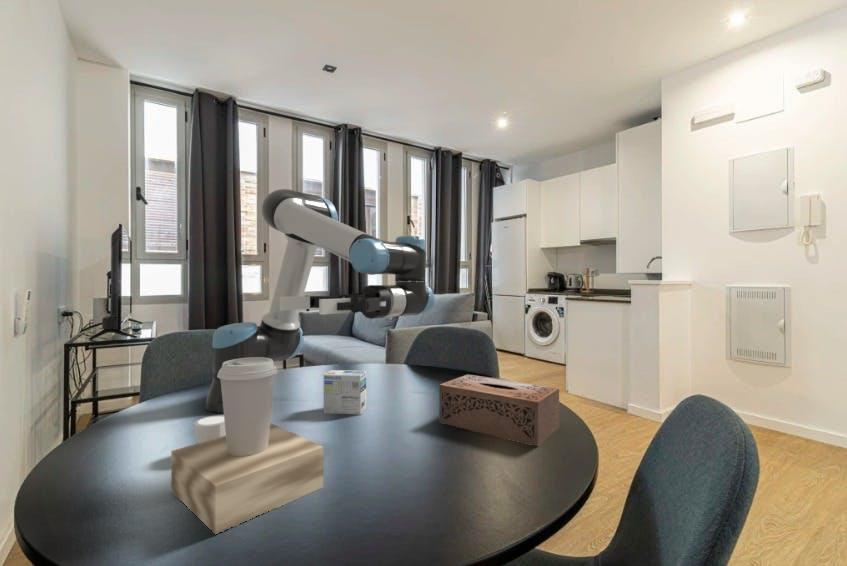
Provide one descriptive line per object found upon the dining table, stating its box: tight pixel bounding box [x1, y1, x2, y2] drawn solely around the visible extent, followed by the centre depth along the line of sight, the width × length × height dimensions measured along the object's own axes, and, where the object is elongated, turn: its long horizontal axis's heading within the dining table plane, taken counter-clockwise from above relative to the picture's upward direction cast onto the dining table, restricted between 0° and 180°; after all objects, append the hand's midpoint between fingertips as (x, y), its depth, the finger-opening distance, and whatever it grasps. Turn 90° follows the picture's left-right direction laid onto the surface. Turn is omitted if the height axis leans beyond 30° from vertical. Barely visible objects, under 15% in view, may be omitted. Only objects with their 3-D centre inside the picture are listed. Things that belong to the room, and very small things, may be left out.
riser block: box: [170, 422, 325, 534], centre depth 70 cm, size 18×18×7 cm
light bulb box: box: [323, 369, 368, 415], centre depth 113 cm, size 11×7×11 cm, turn 84°
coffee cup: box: [217, 357, 279, 456], centre depth 70 cm, size 10×10×15 cm
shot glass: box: [193, 414, 226, 444], centre depth 84 cm, size 7×7×7 cm
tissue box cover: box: [438, 374, 560, 447], centre depth 101 cm, size 26×14×10 cm, turn 54°
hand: (299, 305), depth 77 cm, fingers open, 13 cm apart
